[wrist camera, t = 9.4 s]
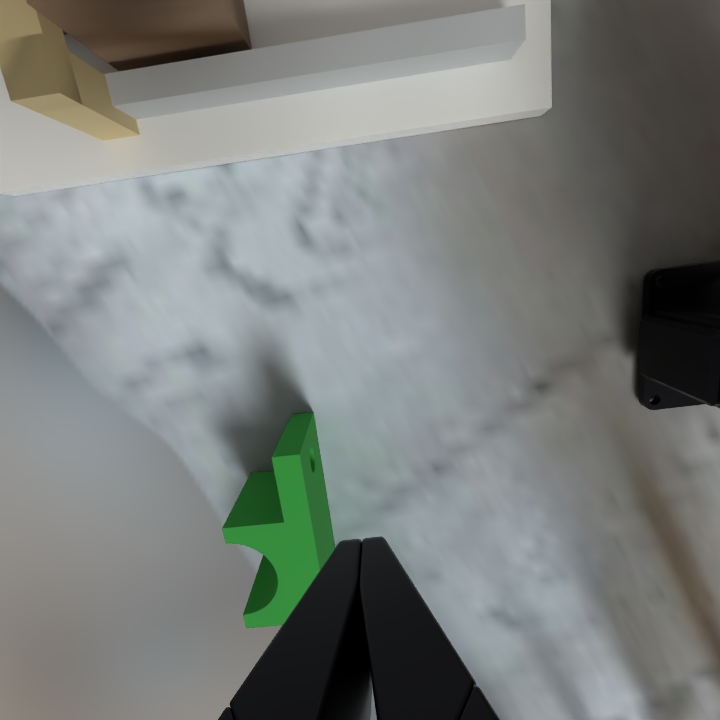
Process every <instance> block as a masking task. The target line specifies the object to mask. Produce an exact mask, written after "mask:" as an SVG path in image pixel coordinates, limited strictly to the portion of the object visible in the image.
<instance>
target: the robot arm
mask: <svg viewBox="0 0 720 720" xmlns="http://www.w3.org/2000/svg"><path fill="white" fill-rule="evenodd" d="M658 276H660V277H661V282H660V283H659V285H656V279H657V277H658ZM638 372H639V373H640V376H639V402H640V404H641V405H643V406H645V407H646V408H648V409H650V410H658V409H666V408H675V407H684V406H692V405H701V404H707V405H710V406H716V407H718V408H720V260H719V261H711V262H704V263H696V264H689V265H681V266H673V267H666V268H658V269H654V270H651V271H650V272H648V273H647V275H646V276H645V278H644V284H643V307H642V319H641V321H640V334H639V358H638ZM653 395H655V398H654V399H653V400H652V401H651V402H650V401H649V400H650V398H651V397H652V396H653ZM372 687H373V694H374V701H375V708H376V715H377V720H500V719H499V717H498V716H497V714H496V713H495V711H494V710H493V708H492V707H491V705H490V704H489V702H488V700H487V699H486V697H485V696H484V694H483V693H482V691H481V689H480V688H479V687H477V686H476V682H475V680H474V679H473V677H472V676H471V674H470V672H469V671H468V669H467V668H466V666H465V665H464V663H463V661H462V660H461V658H460V657H459V655H458V654H457V652H456V650H455V649H454V647H453V646H452V644H451V642H450V641H449V639H448V638H447V636H446V635H445V633H444V631H443V630H442V628H441V627H440V625H439V624H438V622H437V620H436V619H435V617H434V616H433V614H432V612H431V611H430V609H429V608H428V606H427V605H426V603H425V601H424V600H423V598H422V597H421V595H420V594H419V592H418V590H417V589H416V587H415V586H414V584H413V582H412V581H411V579H410V578H409V576H408V575H407V573H406V571H405V570H404V568H403V567H402V565H401V564H400V562H399V560H398V559H397V557H396V556H395V554H394V552H393V551H392V549H391V548H390V546H389V545H388V543H387V541H386V540H385V539H384V538H383V537H372V538H365V539H363V541H361V540H360V539H352V540H343V541H341V542H339V543H338V545H337V546H336V548H335V549H334V551H333V552H332V554H331V555H330V557H329V558H328V559H327V561H326V562H325V564H324V565H323V567H322V568H321V570H320V571H319V573H318V574H317V576H316V577H315V579H314V580H313V581H312V583H311V584H310V586H309V587H308V589H307V590H306V592H305V593H304V595H303V596H302V598H301V599H300V600H299V602H298V603H297V605H296V606H295V608H294V609H293V611H292V612H291V614H290V615H289V617H288V618H287V620H286V621H285V622H284V624H283V625H282V627H281V628H280V630H279V631H278V633H277V634H276V636H275V637H274V639H273V640H272V642H271V643H270V645H269V646H268V647H267V649H266V650H265V652H264V653H263V655H262V656H261V658H260V659H259V661H258V662H257V663H256V665H255V667H254V668H253V669H252V671H251V672H250V674H249V675H248V677H247V678H246V680H245V681H244V683H243V684H242V685H241V687H240V689H239V690H238V691H237V693H236V694H235V696H234V697H233V699H232V700H231V702H230V707H231V708H230V707H227V708H226V709H225V710H224V711H223V713H222V715H221V716H220V717H219V719H218V720H370V713H371V696H372Z"/></svg>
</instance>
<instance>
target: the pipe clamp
mask: <svg viewBox="0 0 720 720" xmlns="http://www.w3.org/2000/svg"><path fill="white" fill-rule="evenodd" d="M272 462H273V468H274V471H265V472H255V473H251V474H250V476H249V478H248V480H247V482H246V484H245V486H244V488H243V489H242V491H241V493H240V495H239V497H238V499H237V501H236V503H235V505H234V507H233V509H232V511H231V513H230V514H229V516H228V518H227V520H226V522H225V524H224V526H223V528H222V530H223V534H224V538H225V542H226V543H227V544H229V543H232V544H241V545H245V546H248V547H251V548H253V549H255V550H257V551H259V552H260V553H262V554H263V558H262V560H261V563H260V566H259V569H258V572H257V575H256V578H255V581H254V584H253V587H252V590H251V593H250V596H249V599H248V602H247V605H246V608H245V611H244V614H243V616H244V621H245V625H246V628H254V627H264V626H277V625H283V624H284V622H285V621H286V620H287V618H288V617H289V615H290V614H291V612H292V611H293V609H294V608H295V606H296V605H297V603H298V602H299V600H300V599H301V598H302V596H303V595H304V593H305V592H306V590H307V589H308V587H309V586H310V584H311V583H312V581H313V580H314V579H315V577H316V576H317V574H318V573H319V571H320V570H321V568H322V567H323V565H324V564H325V562H326V561H327V559H328V558H329V557H330V555H331V554H332V552H333V551H334V549H335V543H334V537H333V530H332V524H331V518H330V512H329V505H328V499H327V493H326V487H325V480H324V474H323V468H322V462H321V455H320V449H319V443H318V437H317V431H316V424H315V418H314V412H309V413H299V414H291V416H290V418H289V420H288V423H287V425H286V427H285V429H284V431H283V433H282V436H281V438H280V440H279V442H278V444H277V446H276V449H275V451H274V453H273V455H272Z"/></svg>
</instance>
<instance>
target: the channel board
mask: <svg viewBox="0 0 720 720" xmlns="http://www.w3.org/2000/svg"><path fill="white" fill-rule="evenodd" d="M244 6H245V11H246V17H247V23H248V29H249V34H250V40H251V46H252V50H246V51H240V52H233V53H227V54H221V55H215V56H209V57H203V58H197V59H191V60H185V61H179V62H173V63H167V64H161V65H155V66H149V67H143V68H137V69H131V70H125V71H118V70H117V69H115V68H114V67H113V66H111V65H110V64H108V63H107V62H106V61H104V60H103V59H102V58H100V57H99V56H98V55H96V54H95V53H94V52H92V51H91V50H89V49H88V48H87V47H85V46H84V45H83V44H81V43H80V42H79V41H77V40H76V39H75V38H73V37H72V36H70V35H69V34H67V35H64V34H63V30H62V29H61V28H60V27H58V26H57V25H56V24H54V23H53V22H51V21H50V20H49V19H47V18H46V17H45V16H43V15H42V14H41V13H39V12H38V11H37V10H35V9H34V8H32V7H31V6H30V5H28V4H27V1H26V0H0V194H7V195H13V196H20V195H26V194H33V193H40V192H46V191H53V190H59V189H66V188H72V187H79V186H85V185H92V184H98V183H105V182H112V181H118V180H125V179H131V178H138V177H144V176H151V175H157V174H164V173H171V172H177V171H184V170H190V169H197V168H203V167H210V166H216V165H223V164H229V163H236V162H243V161H249V160H256V159H262V158H269V157H275V156H282V155H288V154H295V153H302V152H308V151H315V150H321V149H328V148H334V147H341V146H347V145H354V144H360V143H367V142H374V141H380V140H387V139H393V138H400V137H406V136H413V135H419V134H426V133H433V132H439V131H446V130H452V129H459V128H465V127H472V126H478V125H485V124H492V123H498V122H505V121H511V120H518V119H524V118H531V117H537V116H542V115H543V114H544V113H545V112H547V111H548V110H549V109H550V108H552V77H551V0H244Z"/></svg>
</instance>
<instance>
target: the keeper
mask: <svg viewBox="0 0 720 720" xmlns="http://www.w3.org/2000/svg"><path fill="white" fill-rule="evenodd" d="M26 1H27V4H28V5H30V6H31V7H32V8H34V9H35V10H37V11H38V12H39V13H41V14H42V15H43V16H45V17H46V18H47V19H49V20H50V21H51V22H53V23H54V24H56V25H57V26H58V27H60V28H61V29H62V30H64V31H65V32H66V33H68V34H69V35H70V36H72V37H73V38H75V39H76V40H77V41H79V42H80V43H81V44H83V45H84V46H85V47H87V48H88V49H89V50H91V51H92V52H94V53H95V54H96V55H98V56H99V57H100V58H102V59H103V60H104V61H106V62H107V63H108V64H110V65H111V66H113V67H114V68H115V69H117V70H118V71H125V70H131V69H137V68H143V67H149V66H155V65H161V64H167V63H173V62H179V61H185V60H191V59H197V58H203V57H209V56H215V55H221V54H227V53H233V52H240V51H246V50H252V46H251V40H250V34H249V29H248V23H247V17H246V11H245V6H244V0H26Z"/></svg>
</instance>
